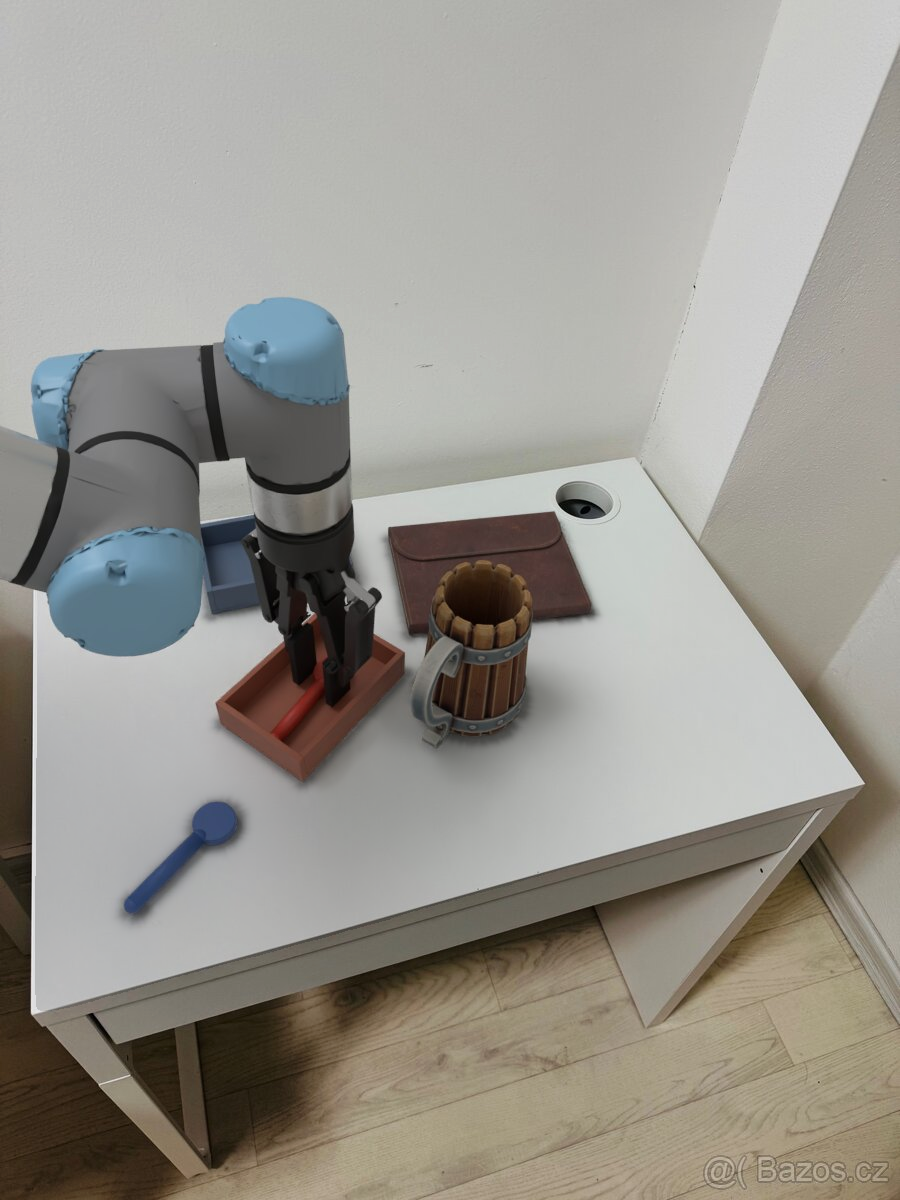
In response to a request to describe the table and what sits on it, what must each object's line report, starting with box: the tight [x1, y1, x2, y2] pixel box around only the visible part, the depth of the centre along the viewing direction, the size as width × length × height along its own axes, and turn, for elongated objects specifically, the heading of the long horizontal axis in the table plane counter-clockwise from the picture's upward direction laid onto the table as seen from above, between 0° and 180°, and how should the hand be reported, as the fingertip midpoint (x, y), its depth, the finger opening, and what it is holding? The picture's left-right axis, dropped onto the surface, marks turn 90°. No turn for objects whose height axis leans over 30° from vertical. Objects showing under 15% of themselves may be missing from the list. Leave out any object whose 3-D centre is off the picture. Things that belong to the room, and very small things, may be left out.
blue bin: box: [200, 514, 354, 615], centre depth 91 cm, size 15×10×4 cm
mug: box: [410, 560, 533, 749], centre depth 75 cm, size 16×11×15 cm
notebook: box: [387, 510, 592, 635], centre depth 93 cm, size 15×20×2 cm
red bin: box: [214, 612, 406, 783], centre depth 80 cm, size 15×10×4 cm
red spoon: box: [270, 657, 327, 742], centre depth 79 cm, size 11×4×1 cm, turn 150°
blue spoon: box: [123, 801, 238, 915], centre depth 69 cm, size 11×4×1 cm, turn 145°
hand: (321, 685), depth 81 cm, fingers closed on red spoon, 3 cm apart
